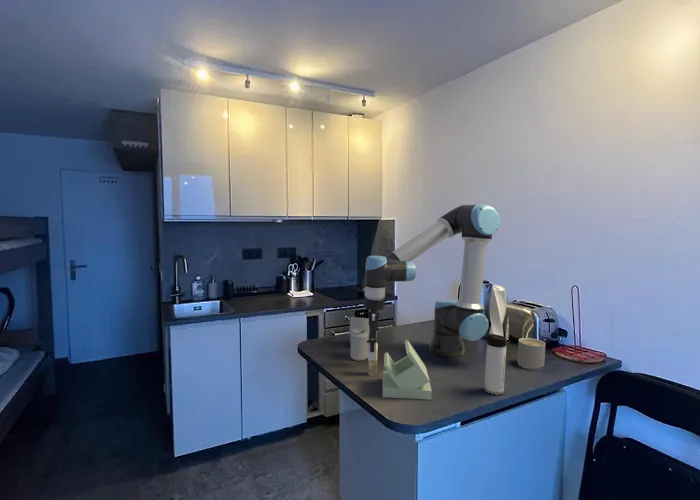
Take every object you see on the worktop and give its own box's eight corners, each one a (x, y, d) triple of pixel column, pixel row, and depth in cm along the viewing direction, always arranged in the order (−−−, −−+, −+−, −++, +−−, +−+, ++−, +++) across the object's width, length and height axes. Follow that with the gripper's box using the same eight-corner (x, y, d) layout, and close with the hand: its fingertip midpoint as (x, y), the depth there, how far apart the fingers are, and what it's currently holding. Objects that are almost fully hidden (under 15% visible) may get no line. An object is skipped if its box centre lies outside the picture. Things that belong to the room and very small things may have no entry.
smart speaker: (371, 343, 185) (371, 313, 183) (367, 349, 176) (367, 318, 174) (351, 341, 187) (352, 312, 186) (346, 347, 178) (347, 317, 177)
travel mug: (480, 387, 140) (483, 332, 138) (498, 387, 140) (501, 332, 138) (488, 395, 133) (491, 338, 131) (506, 395, 134) (510, 337, 132)
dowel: (376, 372, 150) (377, 342, 149) (376, 376, 147) (377, 345, 146) (368, 372, 151) (369, 341, 150) (368, 375, 148) (369, 344, 146)
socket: (426, 381, 143) (428, 339, 142) (431, 399, 130) (433, 353, 128) (382, 379, 145) (383, 337, 143) (382, 397, 131) (383, 351, 129)
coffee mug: (535, 372, 154) (536, 347, 153) (512, 364, 162) (513, 340, 161) (553, 365, 161) (555, 341, 160) (530, 358, 170) (532, 335, 169)
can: (366, 362, 161) (367, 333, 160) (348, 360, 162) (349, 332, 161) (369, 355, 168) (370, 328, 167) (352, 354, 170) (352, 326, 169)
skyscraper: (497, 345, 186) (500, 286, 184) (483, 340, 193) (487, 283, 191) (509, 342, 190) (512, 285, 188) (495, 337, 198) (499, 282, 195)
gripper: (365, 290, 159) (363, 342, 161) (362, 304, 134) (360, 365, 136) (384, 291, 158) (382, 343, 160) (384, 305, 134) (382, 366, 135)
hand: (372, 353), depth 148 cm, fingers open, 13 cm apart
